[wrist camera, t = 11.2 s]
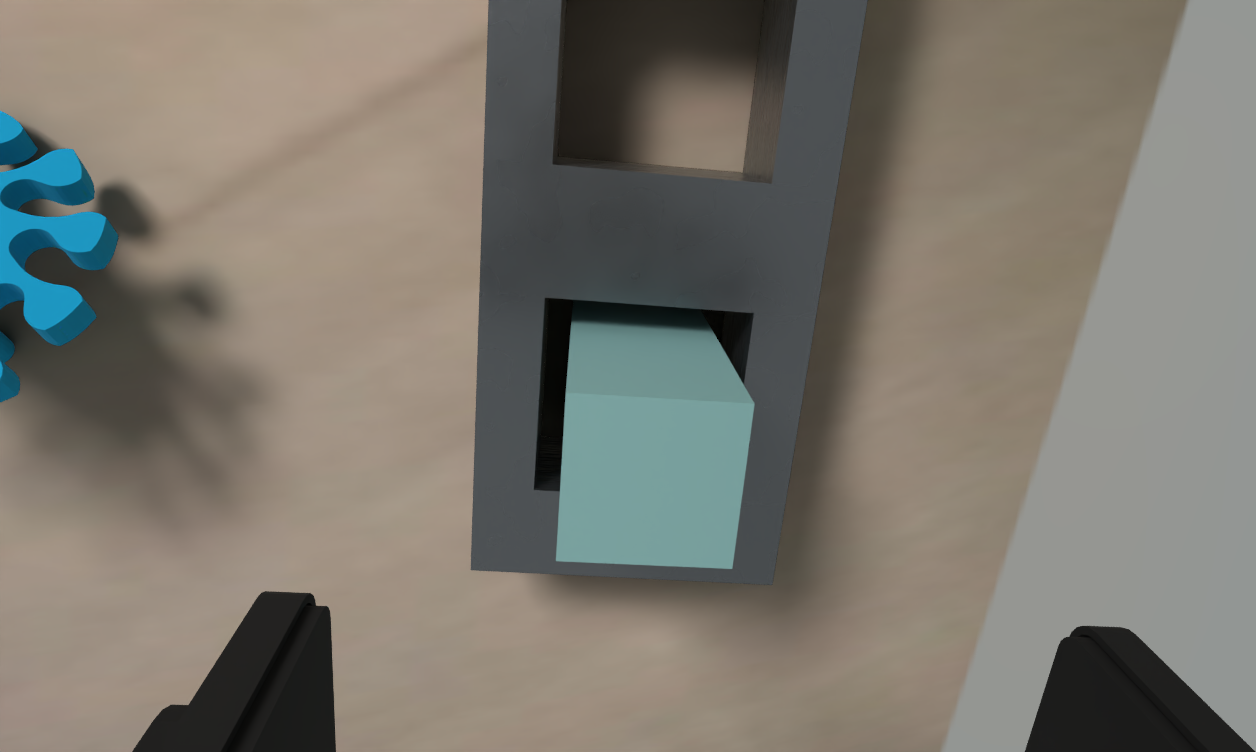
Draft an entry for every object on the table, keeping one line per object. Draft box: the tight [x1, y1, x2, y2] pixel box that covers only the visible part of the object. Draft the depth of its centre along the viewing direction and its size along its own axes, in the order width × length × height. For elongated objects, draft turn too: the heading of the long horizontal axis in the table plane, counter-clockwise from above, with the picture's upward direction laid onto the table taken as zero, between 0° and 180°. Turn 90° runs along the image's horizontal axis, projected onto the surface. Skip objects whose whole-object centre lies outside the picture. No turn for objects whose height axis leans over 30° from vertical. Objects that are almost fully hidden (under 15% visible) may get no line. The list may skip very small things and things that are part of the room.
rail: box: [471, 0, 868, 585], centre depth 23 cm, size 20×9×4 cm, turn 175°
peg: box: [556, 300, 755, 569], centre depth 22 cm, size 4×4×9 cm
